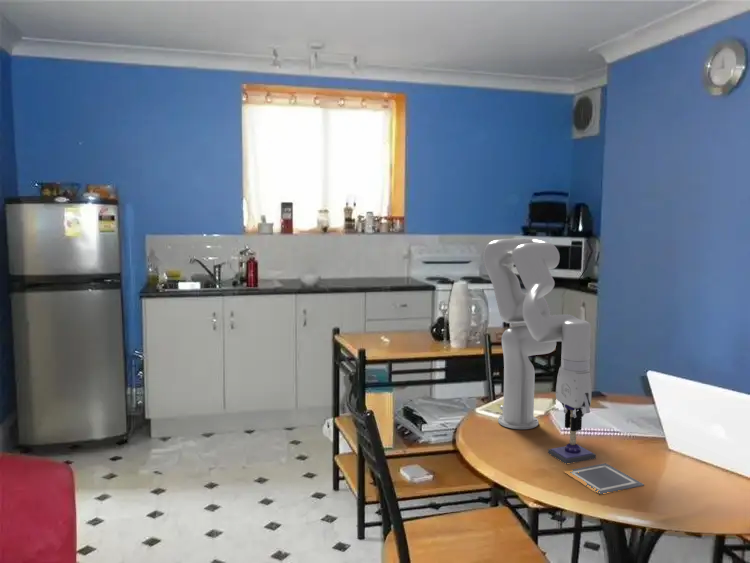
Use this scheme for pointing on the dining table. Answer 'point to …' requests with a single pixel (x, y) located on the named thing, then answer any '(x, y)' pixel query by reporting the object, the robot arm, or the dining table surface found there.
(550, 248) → the robot arm
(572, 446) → the toy lamp
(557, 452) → the ink pad
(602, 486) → the marked board
